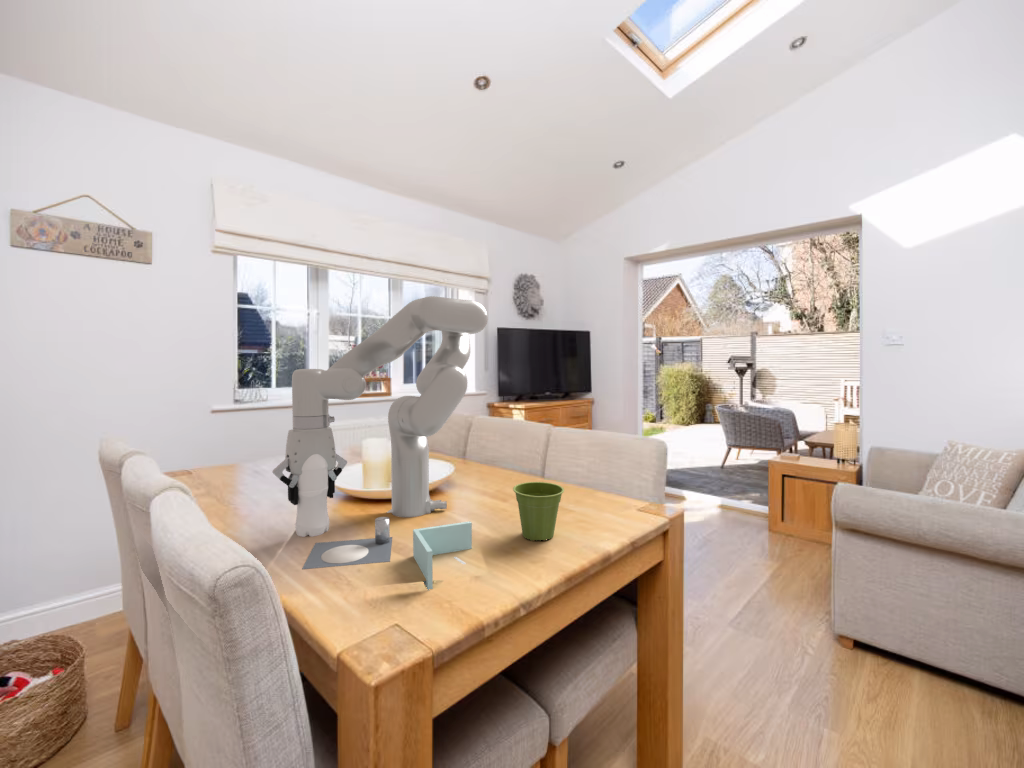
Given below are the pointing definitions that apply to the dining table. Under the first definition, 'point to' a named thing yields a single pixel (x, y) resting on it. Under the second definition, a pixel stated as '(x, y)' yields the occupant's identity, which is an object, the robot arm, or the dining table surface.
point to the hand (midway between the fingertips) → (312, 499)
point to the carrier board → (348, 553)
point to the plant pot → (538, 508)
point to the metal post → (382, 530)
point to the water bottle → (312, 498)
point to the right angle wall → (439, 545)
